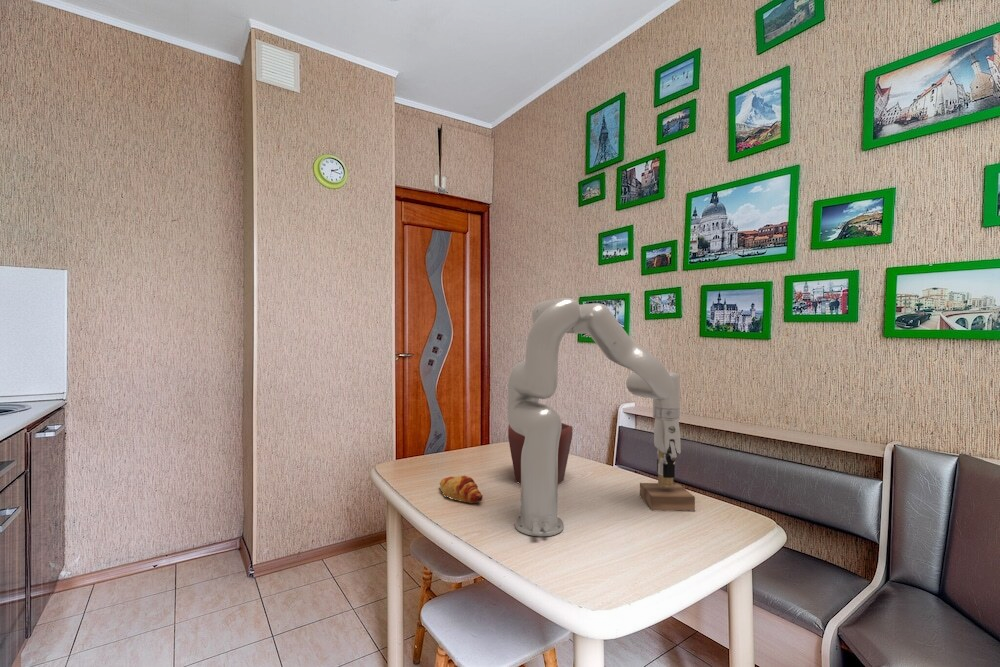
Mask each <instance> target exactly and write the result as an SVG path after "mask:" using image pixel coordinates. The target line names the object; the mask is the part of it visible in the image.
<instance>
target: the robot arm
mask: <svg viewBox="0 0 1000 667" xmlns="http://www.w3.org/2000/svg"><path fill="white" fill-rule="evenodd" d="M531 319H532V322H533V324H532V326H531V328H530V329H529V332H528V335H527V339H526V345H525V358H524V360H522V361H520V362H518V363H516V364H515V365H514V367H513V368H512V369H511V371H510V373H509V377H508V382H507V421H508V425H509V424H510V426H511V428H512V429H513V430H514V431H515V432H517V433H519V434H521V435H523V436H525V441H524V445H523V448H522V454H521V484H520V515H519V516H517V517H516V518H515V520H514V527H515V529H516V530H517V531H518V532H520V533H522V534H525V535H527V536H532V537H551V536H554V535H558V534H559V533H561V532H562V531H563V530H564V527H565V524H564V521H563V520H562V519H561V517H559V516H558V500H559V499H558V498H559V497H558V495H559V494H558V492H559V491H558V488H559V487H558V486H559V484H558V446H559V440H560V435H561V428H562V424H561V423H562V419H561V417H560V415H559V414H558V412H557V411H556V409H555V408H553V407H551V406H549V405H547V404H544V403H540V400H545V399H549V398H551V397H553V396H554V395H555V393H556V391H557V388H558V379H559V378H558V377H559V374H558V372H559V352H560V351H559V350H560V345H561V341H562V339H563V337H564V336H565V335H566V334H576V335H577V334H583V335H585V334H587V335H589V336H590V338H591V339H592V340H593V341H594V343H595V344H596V345H597V347H598V348H599V349H600V351H601V352H602V353H603V354H604V356H605V357H606V358H607V360H610V361H611V362H613V363H615V364H616V365H619V366H621V367H624V368H625V369H628V370H630V371H632V373H630V374H629V375H628V377H627V379H626V382H625V386H626V388H627V390H628V392H629V393H630V394H632V395H634V396H636V397H640V398H641V397H642V398H645V399H647V398H648V399H652V418H653V419H654V425H653V426H654V427H653V429H654V430H653V444H654V447H655V448H656V462H657V463H656V471H657V473H658V451H659V450H660V451H661V452H663V453H664V463H665V464H664V463H663V477H664V478H673V479H674V478H675V476H676V473H675V472H676V471H675V468H676V459H677V458H678V456H677V455H680V454H681V450H682V446H681V445H682V444H681V443H682V442H681V428H680V422H679V421H680V417H681V416H680V414H681V413H680V412H681V409H680V406H681V403H680V401H681V400H680V398H681V396H680V395H681V378H680V374H679V373H677V372H675V371H668V369H667V368H666V367H665V366H664V365H663V362H662V361H661V360H660V359H658V358H657V357H656V356H655V355H654V354H652V353H651V352H650V351H648V350H647V349H645V348H643V347H642V346H641V345H640V344H638V343H637V342H635V341H634V340H633V339H632V338H631V337H630V335H629V334H628V332H626V330H625V329H624V327H623V326H622V325H621V324H620V323H619V321H618V319H617V318H616V316H614V314H613V313H612V311H611V310H610V308H608V307H607V306H606V305H605V304H603V303H598V302H596V303H595V302H594V303H593V302H592V303H585V304H580V303H579V302H578V301H577V300H576V299H575V298H574V299H573V298H570V297H559V298H554V299H549V300H548V299H547V300H542V301H540V302H539V303H537V304H536V305H535V306H534V308H533V309H532V312H531ZM658 445H659V446H658ZM658 447H659V448H658ZM667 451H670V453H667ZM667 455H670V456H668V458H667Z"/></svg>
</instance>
